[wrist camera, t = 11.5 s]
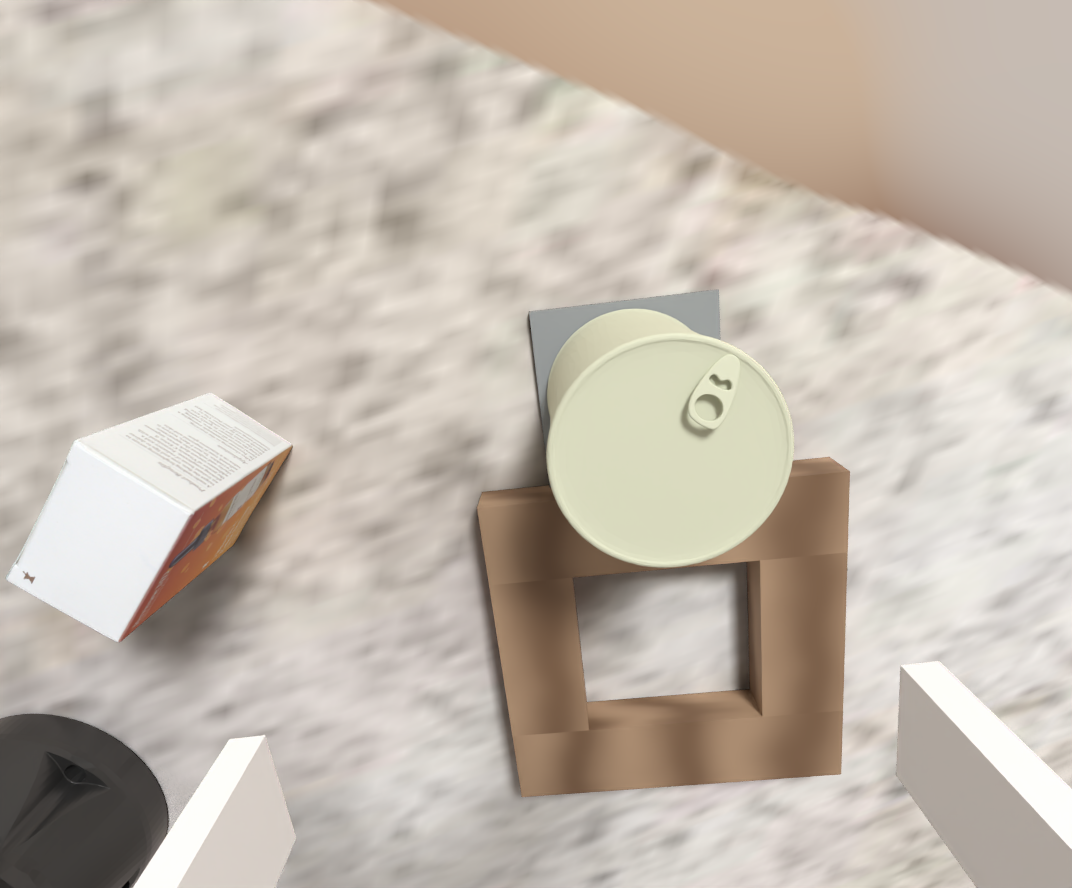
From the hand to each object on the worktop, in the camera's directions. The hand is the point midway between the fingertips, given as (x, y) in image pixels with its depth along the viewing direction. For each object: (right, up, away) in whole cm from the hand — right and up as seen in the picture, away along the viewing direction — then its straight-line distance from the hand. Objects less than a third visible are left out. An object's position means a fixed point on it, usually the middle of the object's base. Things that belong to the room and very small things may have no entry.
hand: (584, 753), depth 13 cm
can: (+4, +9, +21) cm, 23 cm away
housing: (+7, -5, +25) cm, 27 cm away
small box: (-19, +5, +23) cm, 31 cm away
